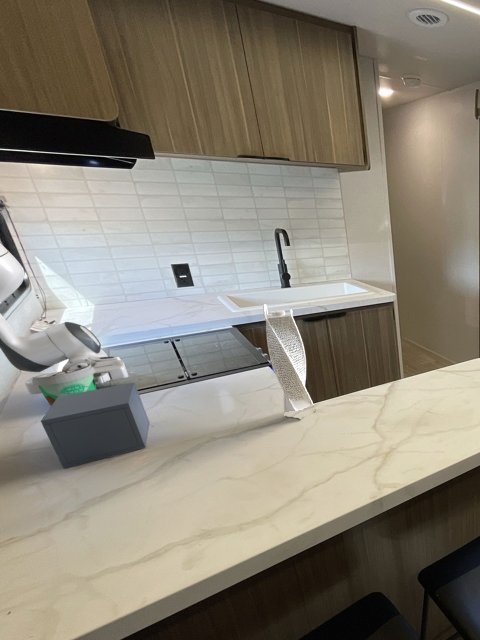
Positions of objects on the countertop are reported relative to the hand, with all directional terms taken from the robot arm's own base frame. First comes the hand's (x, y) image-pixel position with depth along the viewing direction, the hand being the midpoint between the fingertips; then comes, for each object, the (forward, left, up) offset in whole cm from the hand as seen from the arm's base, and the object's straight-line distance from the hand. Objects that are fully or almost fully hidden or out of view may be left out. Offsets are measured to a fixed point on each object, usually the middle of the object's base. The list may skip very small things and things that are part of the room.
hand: (75, 385), depth 108 cm
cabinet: (+9, -34, -6) cm, 36 cm away
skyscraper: (+46, -45, -6) cm, 65 cm away
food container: (0, -1, -6) cm, 6 cm away
